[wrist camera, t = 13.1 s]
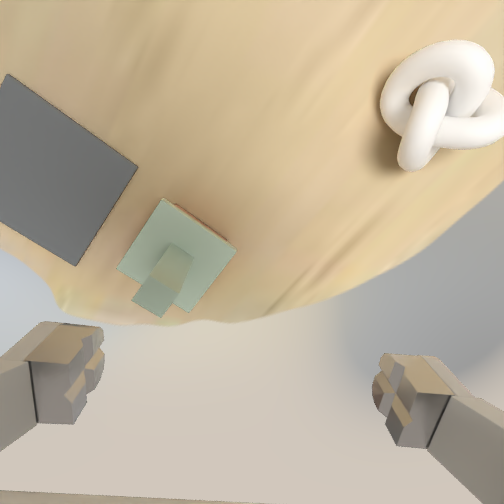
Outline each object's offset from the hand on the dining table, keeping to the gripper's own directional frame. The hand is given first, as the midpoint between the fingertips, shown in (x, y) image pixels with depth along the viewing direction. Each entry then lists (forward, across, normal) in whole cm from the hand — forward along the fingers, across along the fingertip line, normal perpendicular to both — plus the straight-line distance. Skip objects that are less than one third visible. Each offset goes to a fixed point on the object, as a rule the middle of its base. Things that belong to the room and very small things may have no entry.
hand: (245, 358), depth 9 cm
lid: (+27, +7, +8) cm, 28 cm away
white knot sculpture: (+31, -19, -12) cm, 39 cm away
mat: (+31, +24, +1) cm, 39 cm away
